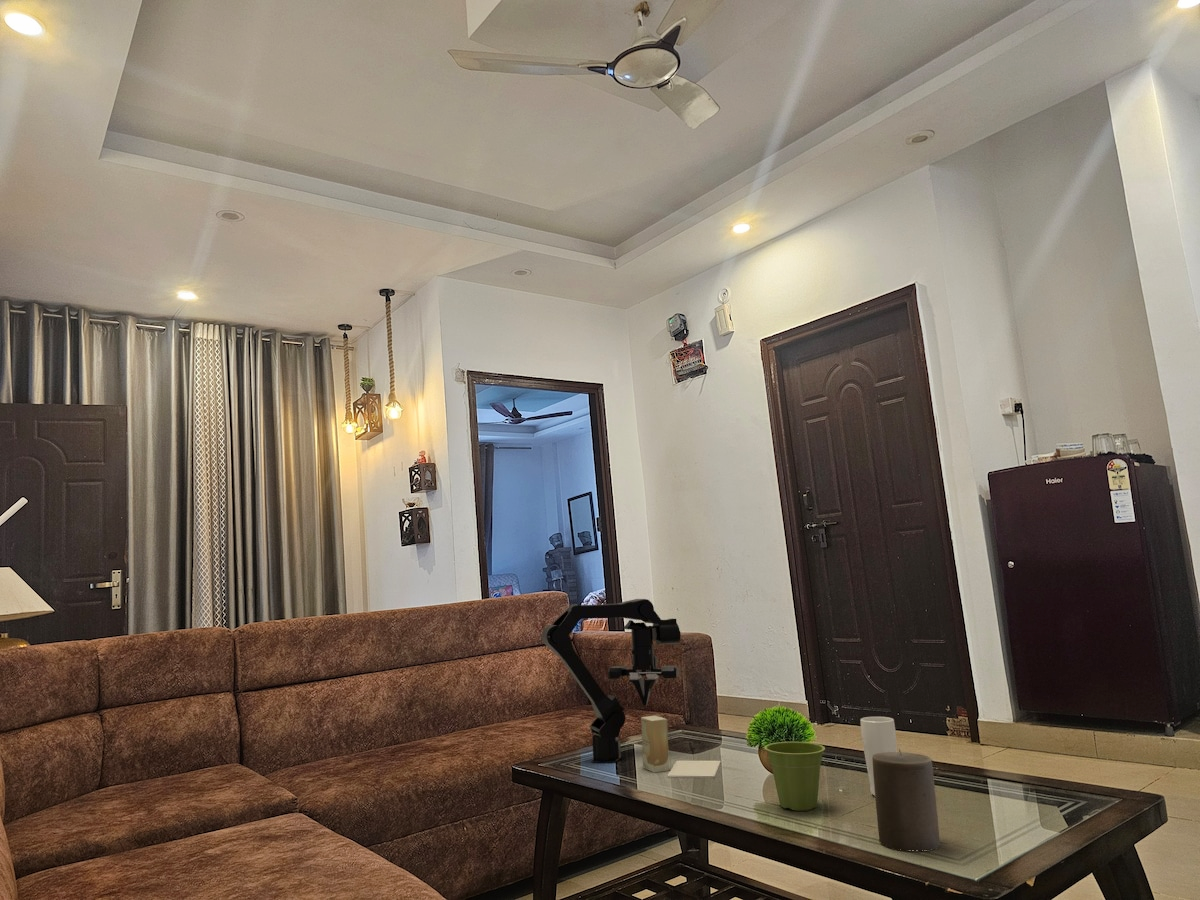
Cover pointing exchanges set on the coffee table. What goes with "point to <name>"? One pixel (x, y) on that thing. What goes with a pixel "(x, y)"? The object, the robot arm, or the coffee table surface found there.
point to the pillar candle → (905, 801)
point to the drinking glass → (877, 740)
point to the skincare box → (655, 743)
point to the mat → (695, 769)
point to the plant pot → (796, 773)
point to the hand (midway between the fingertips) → (645, 705)
